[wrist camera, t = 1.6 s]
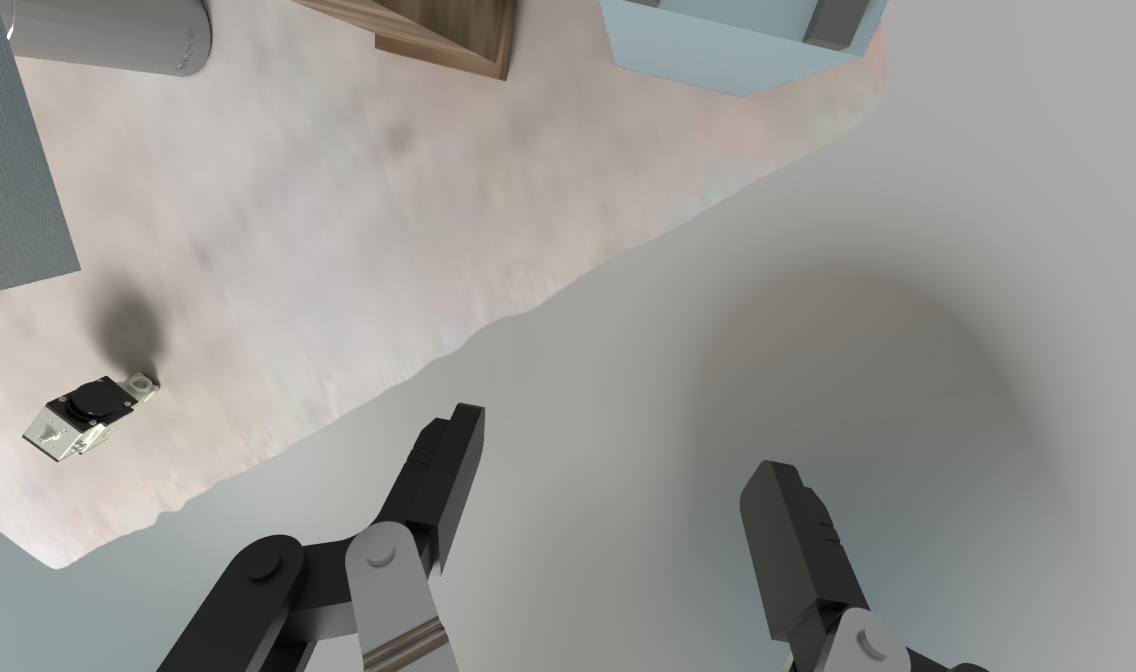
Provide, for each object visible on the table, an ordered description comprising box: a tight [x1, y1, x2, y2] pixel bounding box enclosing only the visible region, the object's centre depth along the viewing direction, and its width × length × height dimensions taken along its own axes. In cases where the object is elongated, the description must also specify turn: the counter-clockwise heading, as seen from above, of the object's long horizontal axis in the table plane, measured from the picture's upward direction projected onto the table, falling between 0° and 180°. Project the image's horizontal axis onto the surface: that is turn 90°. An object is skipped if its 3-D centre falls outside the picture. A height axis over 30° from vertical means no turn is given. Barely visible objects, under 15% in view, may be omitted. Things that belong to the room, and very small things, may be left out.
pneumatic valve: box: [22, 373, 159, 462], centre depth 55 cm, size 6×12×12 cm, turn 128°
